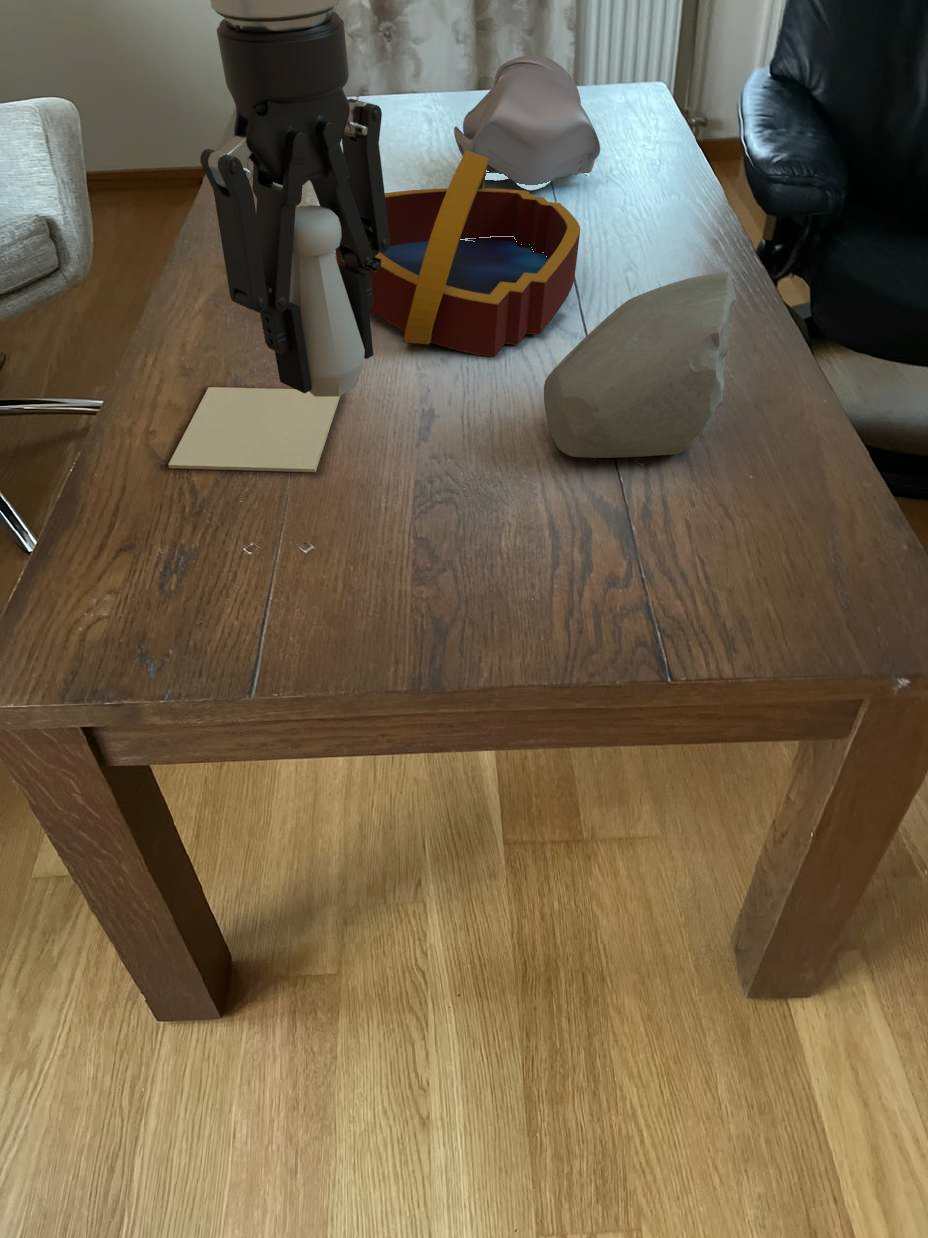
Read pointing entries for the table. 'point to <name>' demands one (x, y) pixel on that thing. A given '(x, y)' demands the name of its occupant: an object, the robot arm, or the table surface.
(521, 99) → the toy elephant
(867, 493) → the table surface
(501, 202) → the decorative basket
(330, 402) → the placemat
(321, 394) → the salt shaker
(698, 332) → the decorative stone
